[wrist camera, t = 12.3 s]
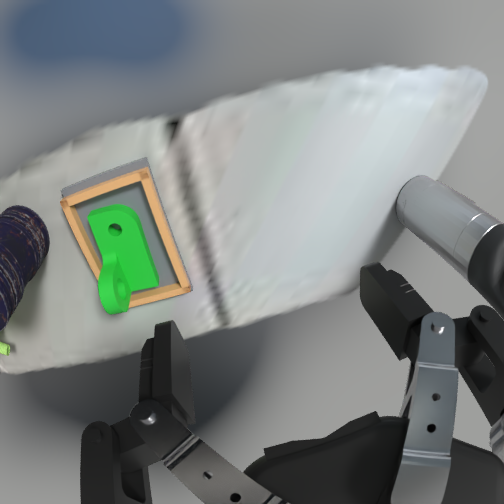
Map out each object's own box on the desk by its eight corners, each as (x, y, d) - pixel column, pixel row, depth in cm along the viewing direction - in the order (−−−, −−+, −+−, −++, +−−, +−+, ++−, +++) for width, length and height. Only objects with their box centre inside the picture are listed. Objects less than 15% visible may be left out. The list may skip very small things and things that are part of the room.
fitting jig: (146, 156, 35) (143, 162, 33) (192, 286, 45) (193, 296, 43) (63, 188, 34) (56, 194, 32) (120, 305, 45) (118, 316, 43)
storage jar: (-1, 258, 36) (-44, 321, 24) (-5, 200, 32) (-63, 254, 19) (51, 270, 39) (16, 341, 27) (51, 210, 35) (1, 272, 22)
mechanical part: (159, 277, 42) (156, 315, 36) (120, 285, 42) (112, 323, 35) (133, 199, 36) (122, 227, 29) (91, 210, 35) (72, 240, 29)
